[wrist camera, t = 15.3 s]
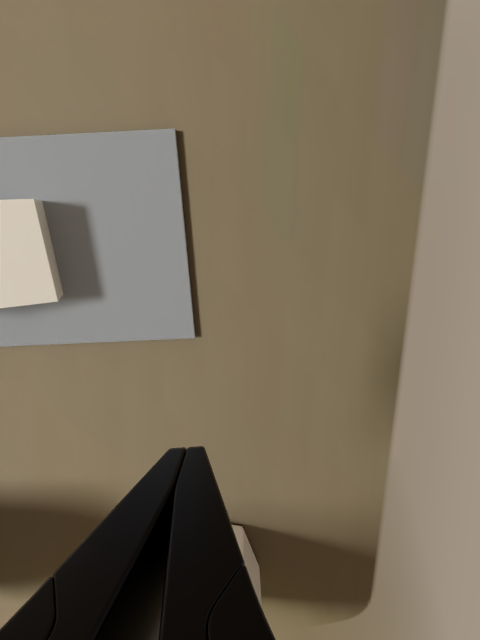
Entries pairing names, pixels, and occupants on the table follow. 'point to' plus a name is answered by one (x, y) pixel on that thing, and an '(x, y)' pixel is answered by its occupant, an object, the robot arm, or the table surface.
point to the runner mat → (104, 236)
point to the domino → (26, 255)
